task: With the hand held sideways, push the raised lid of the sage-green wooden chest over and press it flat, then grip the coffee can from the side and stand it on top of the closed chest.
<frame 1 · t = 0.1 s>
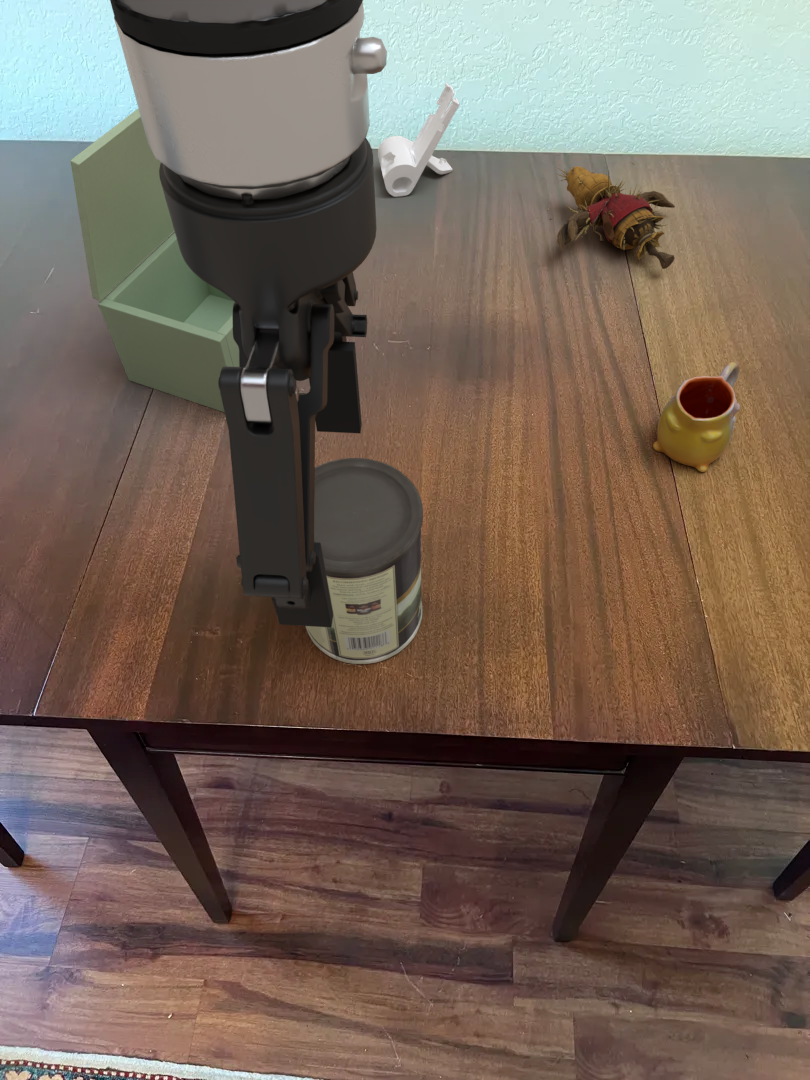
hand: (324, 515, 44), 23 cm above the table, tool pointing down, fingers open, 13 cm apart
mug: (699, 432, 79), on the table
lid: (139, 191, 73), point 18 cm above the table, hinge at 75.0°
coffee can: (362, 612, 67), on the table
chest: (223, 351, 87), on the table
plastic part: (416, 181, 106), on the table
scarecrow: (607, 238, 98), on the table
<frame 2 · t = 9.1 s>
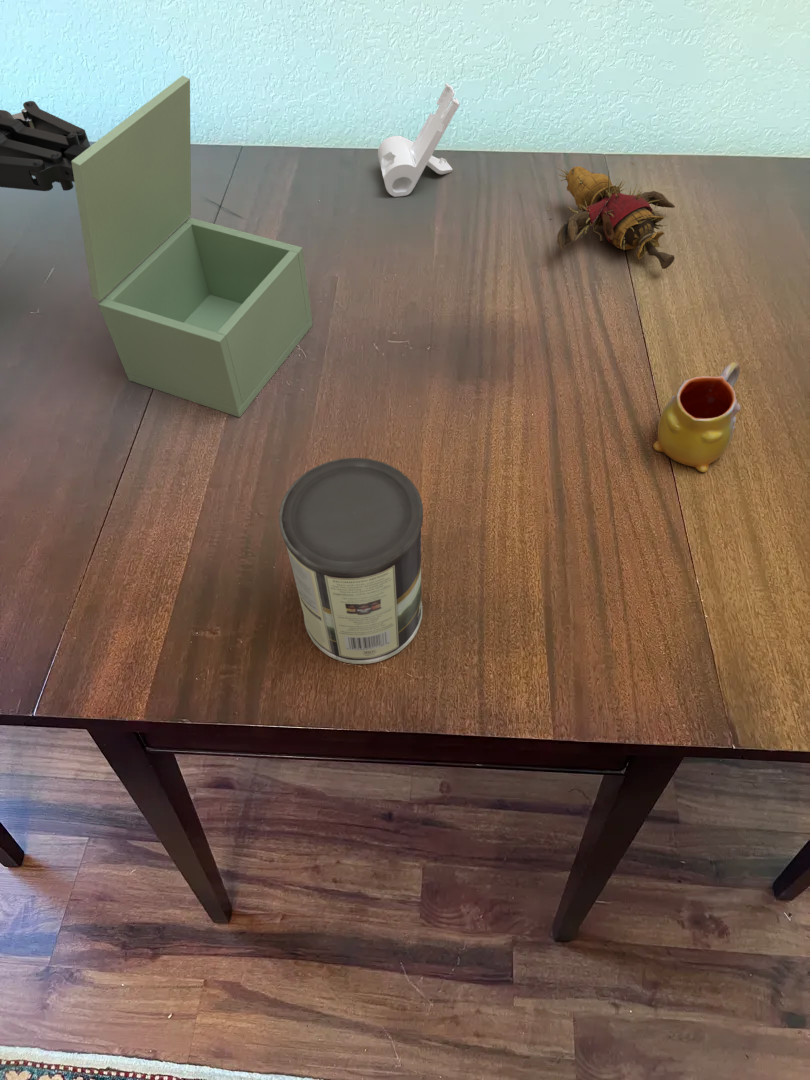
hand: (130, 176, 73), 19 cm above the table, tool horizontal, fingers closed
lid: (139, 191, 73), point 18 cm above the table, hinge at 74.6°, touching gripper
everything else where it was.
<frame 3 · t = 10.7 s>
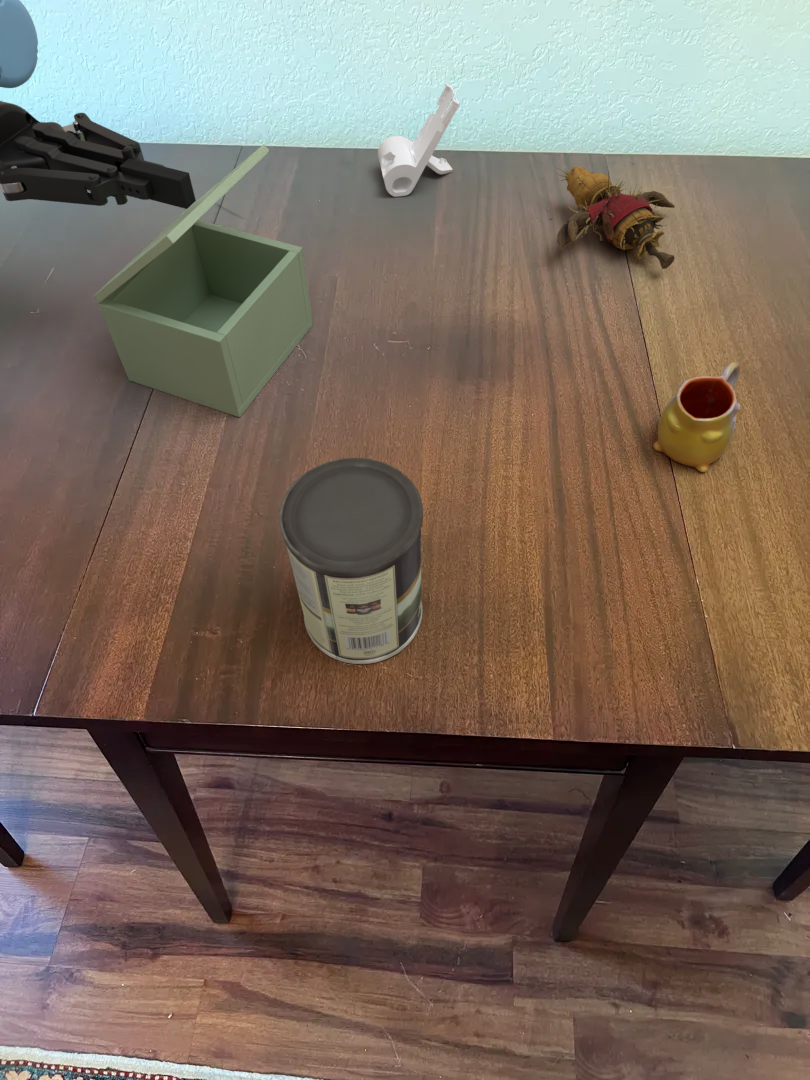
hand: (187, 191, 71), 19 cm above the table, tool horizontal, fingers closed
lid: (180, 224, 74), point 15 cm above the table, hinge at 39.4°
everything else where it was.
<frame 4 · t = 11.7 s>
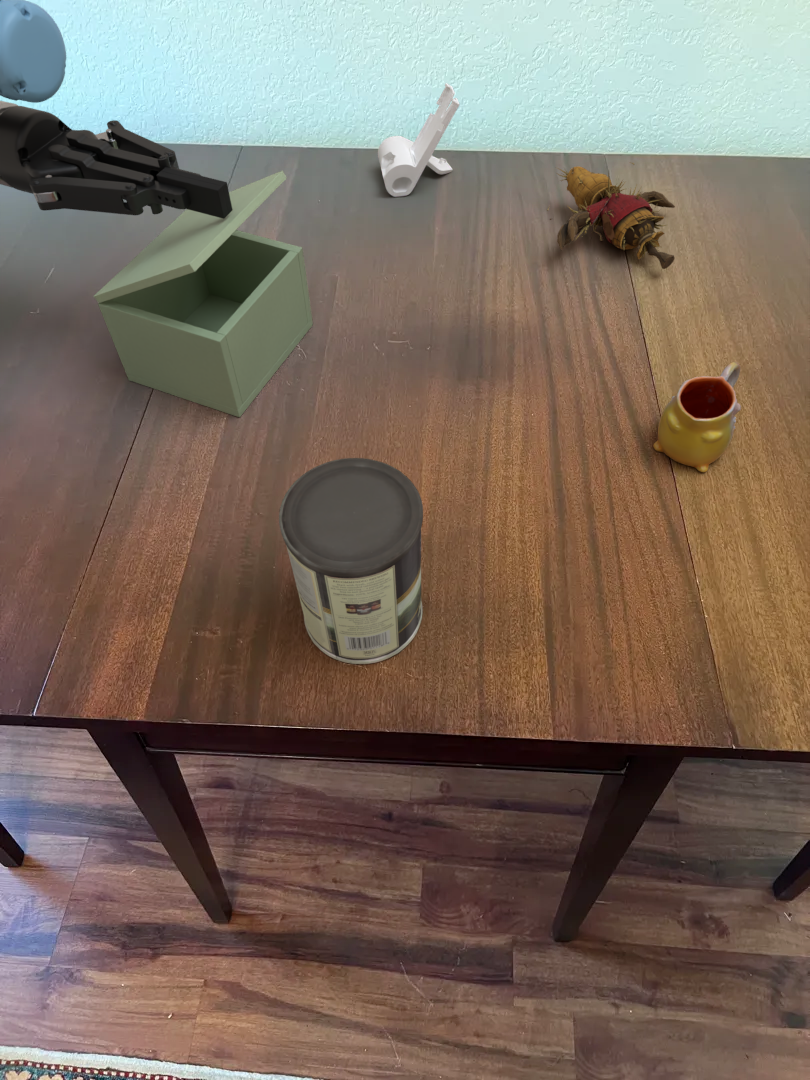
hand: (225, 200, 70), 19 cm above the table, tool horizontal, fingers closed
lid: (189, 237, 75), point 14 cm above the table, hinge at 28.8°
everything else where it was.
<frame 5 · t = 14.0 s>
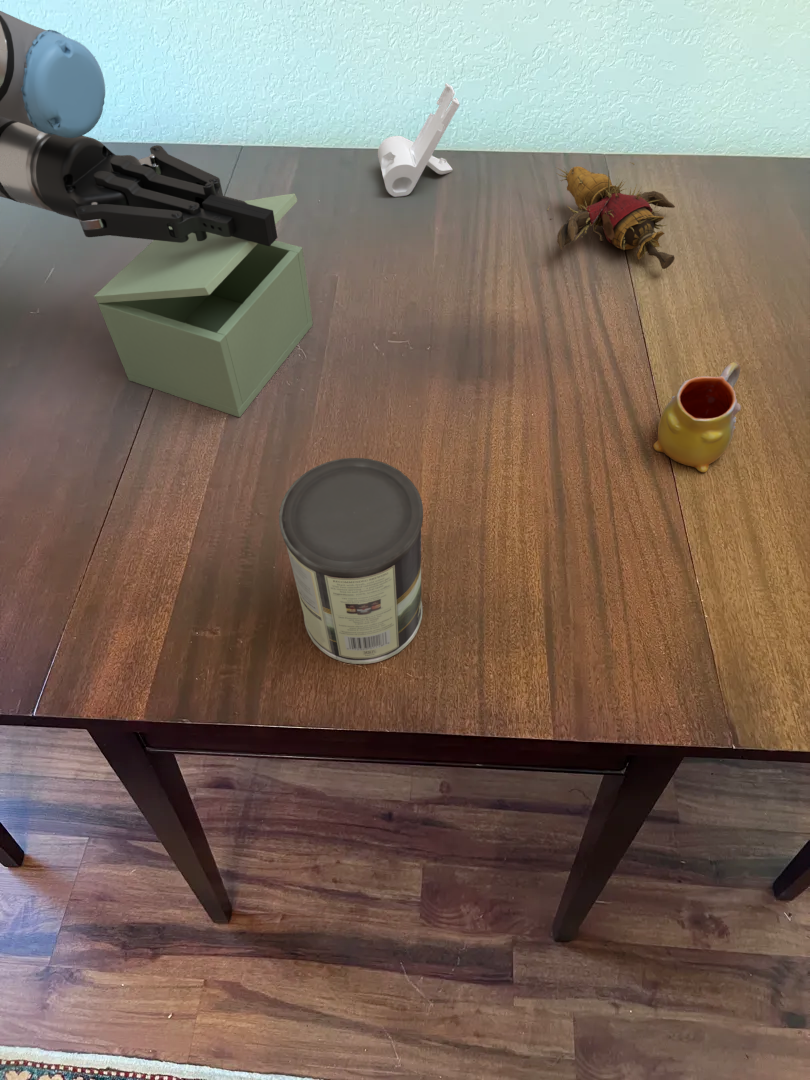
hand: (270, 228, 70), 17 cm above the table, tool horizontal, fingers closed
lid: (196, 248, 76), point 13 cm above the table, hinge at 20.0°
everything else where it was.
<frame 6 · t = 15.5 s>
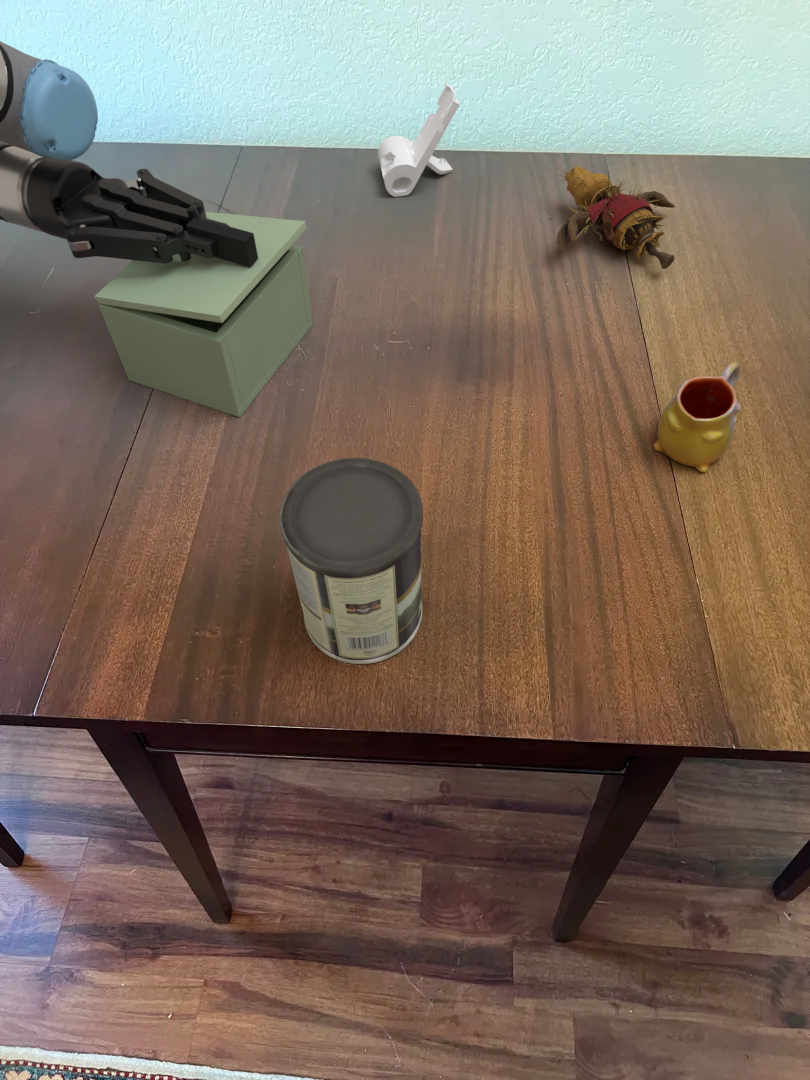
hand: (251, 250, 73), 15 cm above the table, tool horizontal, fingers closed
lid: (202, 261, 77), point 12 cm above the table, hinge at 9.0°, touching gripper
everything else where it was.
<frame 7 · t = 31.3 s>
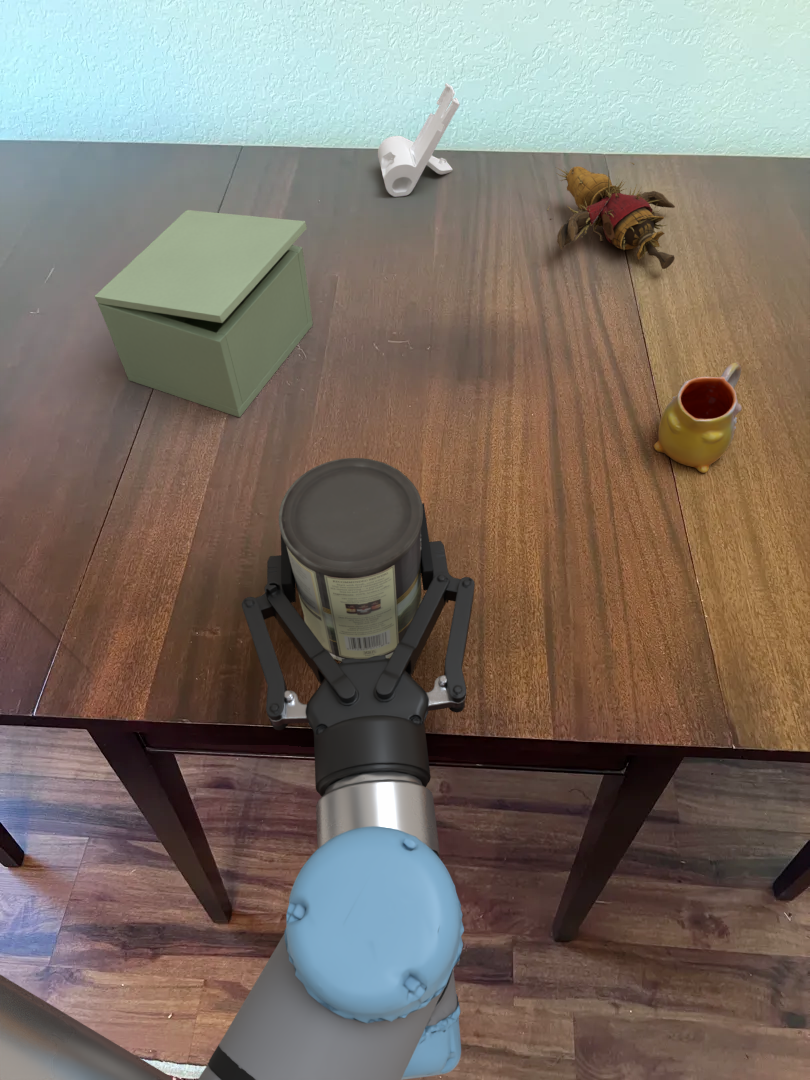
hand: (353, 519, 63), 7 cm above the table, tool horizontal, fingers closed on coffee can, 10 cm apart
lid: (202, 261, 77), point 12 cm above the table, hinge at 9.0°
coffee can: (362, 612, 67), on the table, touching gripper
everything else where it was.
when the fingers open (20 cm above the table, at t = 41.6 s): coffee can drops 1 cm, resting on lid.
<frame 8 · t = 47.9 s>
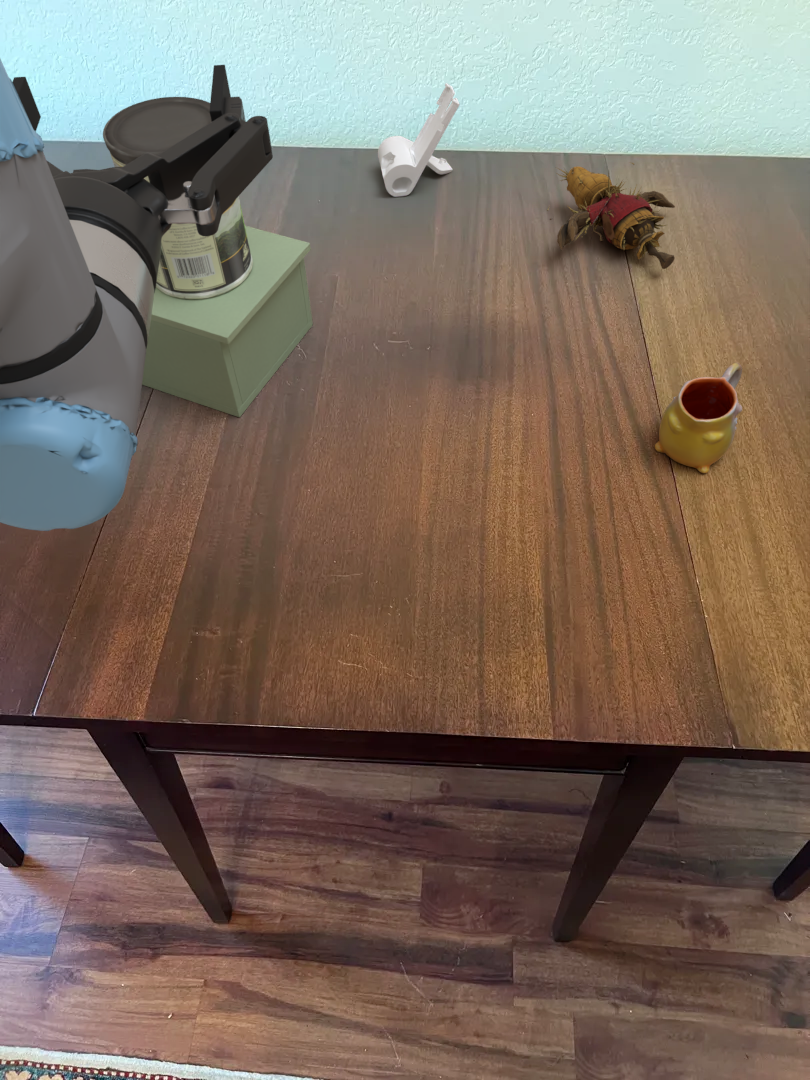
hand: (126, 91, 55), 32 cm above the table, tool horizontal, fingers open, 13 cm apart
lid: (206, 272, 78), point 10 cm above the table, hinge at -0.2°, touching chest, coffee can
coffee can: (201, 269, 78), point 11 cm above the table, touching lid
everything else where it was.
at the end: lid at +0° (first picture: +75°); coffee can inside the target area on the chest (0.1 cm from its centre), point 10.6 cm above the chest's base; coffee can tilted 0° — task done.
